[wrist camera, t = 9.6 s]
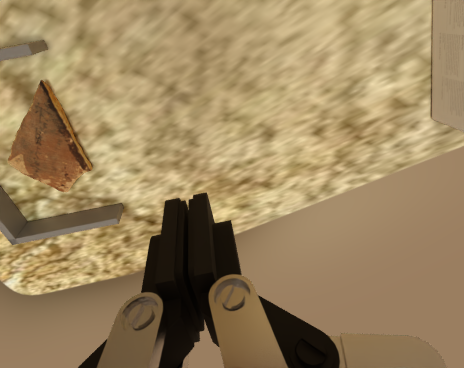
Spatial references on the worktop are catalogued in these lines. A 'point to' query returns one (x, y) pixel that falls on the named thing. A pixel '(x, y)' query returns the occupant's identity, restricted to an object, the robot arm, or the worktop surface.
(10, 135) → the worktop surface
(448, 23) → the skincare box
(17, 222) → the grey u-shaped bracket
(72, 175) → the shard
